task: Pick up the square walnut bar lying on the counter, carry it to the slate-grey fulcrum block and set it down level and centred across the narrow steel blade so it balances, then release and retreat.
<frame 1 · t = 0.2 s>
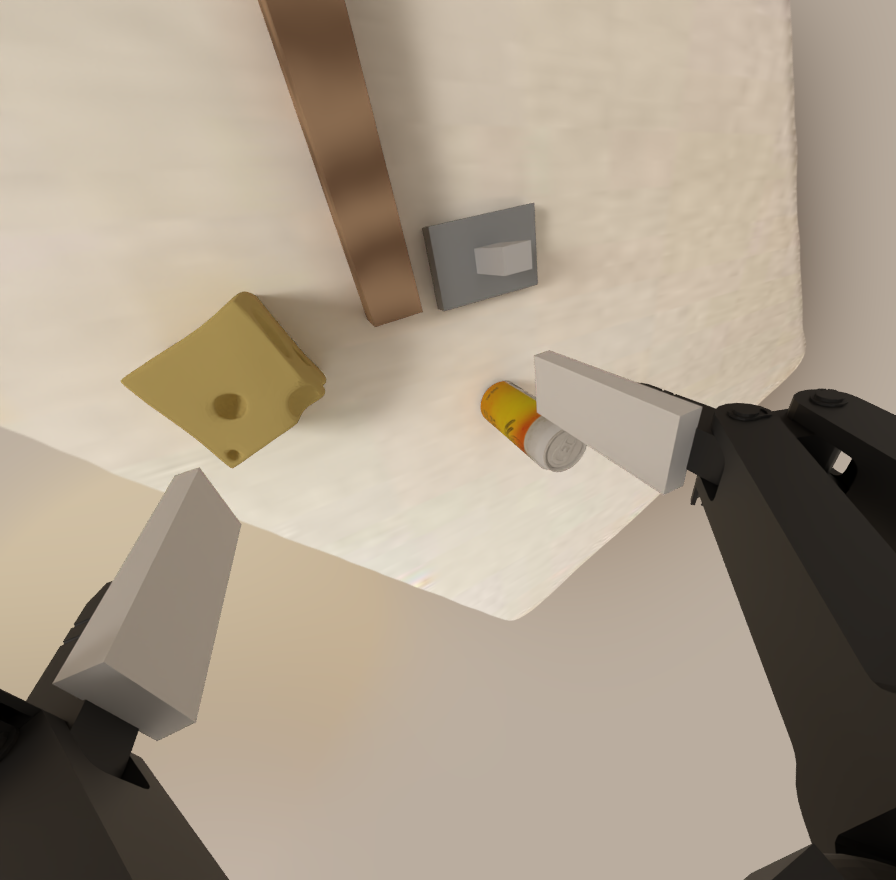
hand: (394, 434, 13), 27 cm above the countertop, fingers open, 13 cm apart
walnut bar: (347, 178, 31), on the countertop
cheese: (248, 362, 34), on the countertop
beer can: (496, 399, 47), on the countertop
fulcrum: (480, 258, 38), on the countertop
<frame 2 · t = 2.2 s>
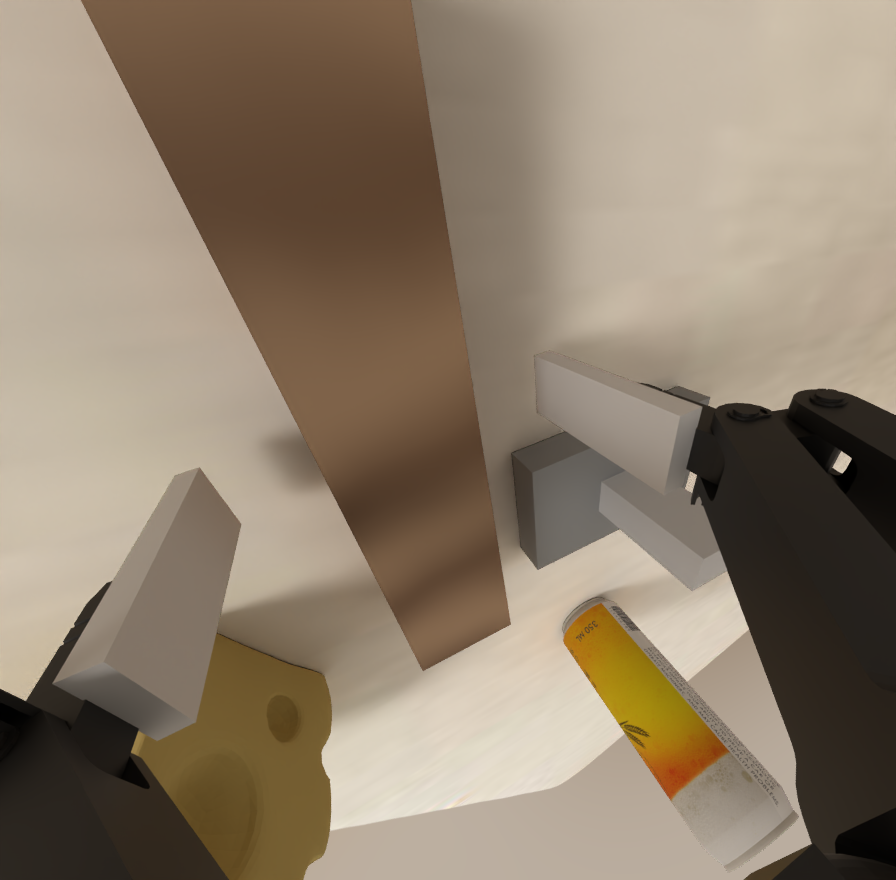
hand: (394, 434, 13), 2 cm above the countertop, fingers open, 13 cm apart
walnut bar: (379, 406, 15), on the countertop
cheese: (188, 699, 18), on the countertop
beer can: (583, 614, 32), on the countertop
fulcrum: (596, 469, 22), on the countertop
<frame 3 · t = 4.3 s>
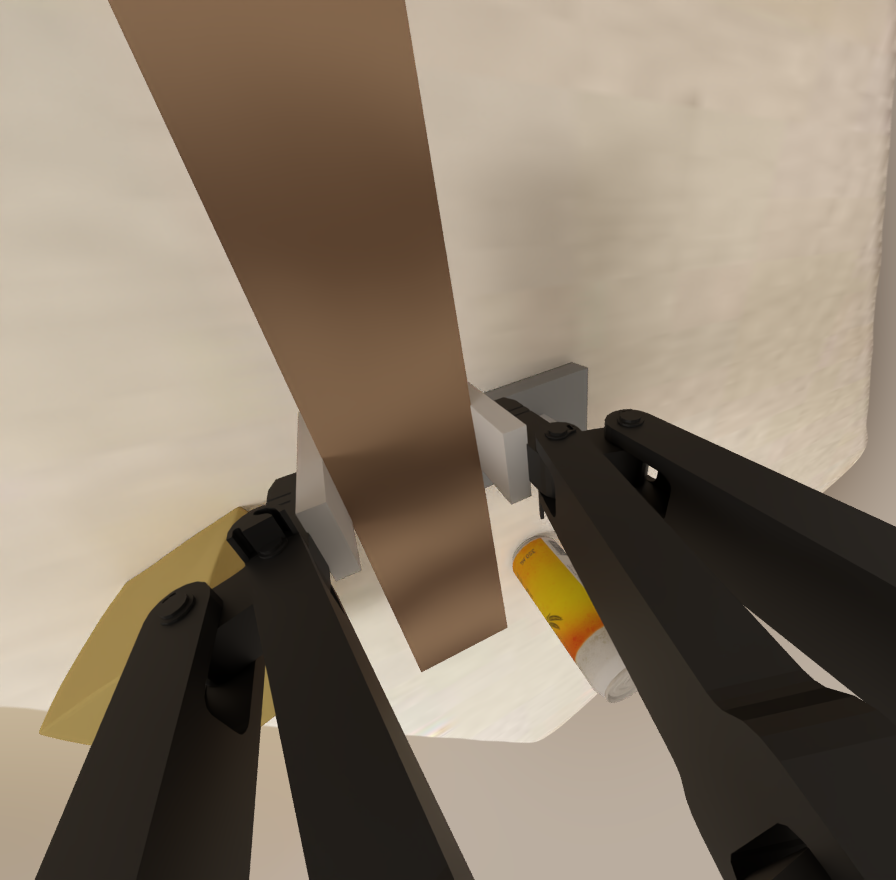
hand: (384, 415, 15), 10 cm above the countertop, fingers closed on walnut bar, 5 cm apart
walnut bar: (383, 414, 16), point 10 cm above the countertop, touching gripper
cheese: (233, 571, 27), on the countertop
beer can: (530, 551, 40), on the countertop
fulcrum: (518, 422, 31), on the countertop
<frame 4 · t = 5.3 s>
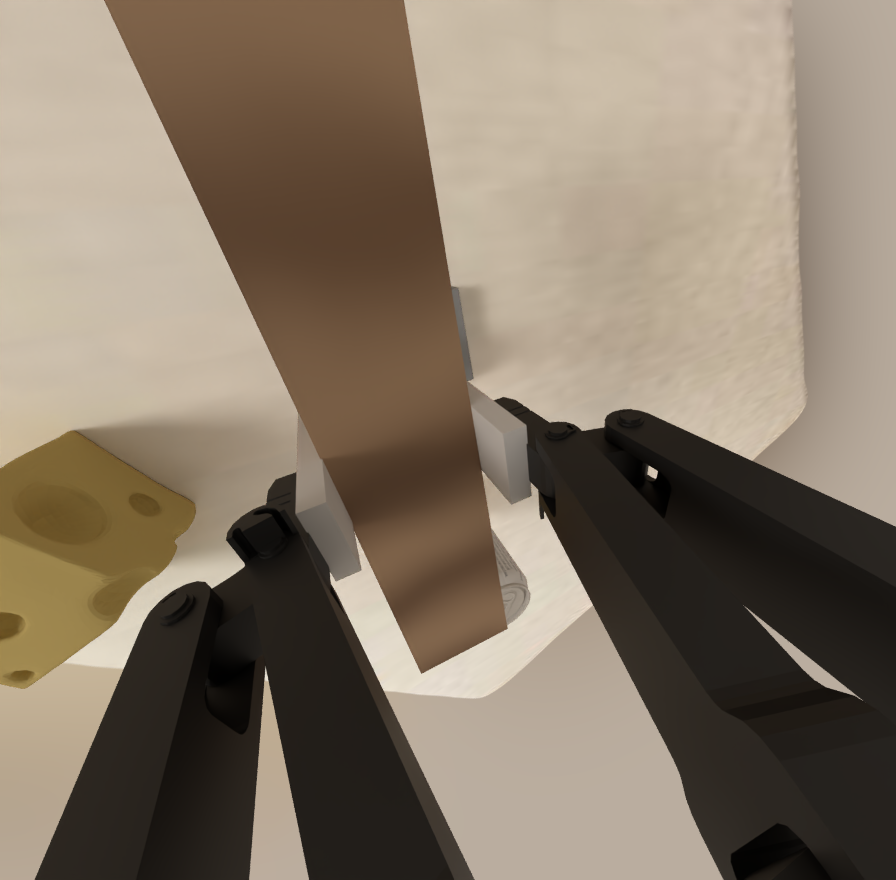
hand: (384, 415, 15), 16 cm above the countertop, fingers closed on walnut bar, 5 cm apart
walnut bar: (382, 415, 15), point 15 cm above the countertop, touching gripper
cheese: (85, 504, 26), on the countertop
beer can: (438, 497, 39), on the countertop
fulcrum: (395, 352, 29), on the countertop
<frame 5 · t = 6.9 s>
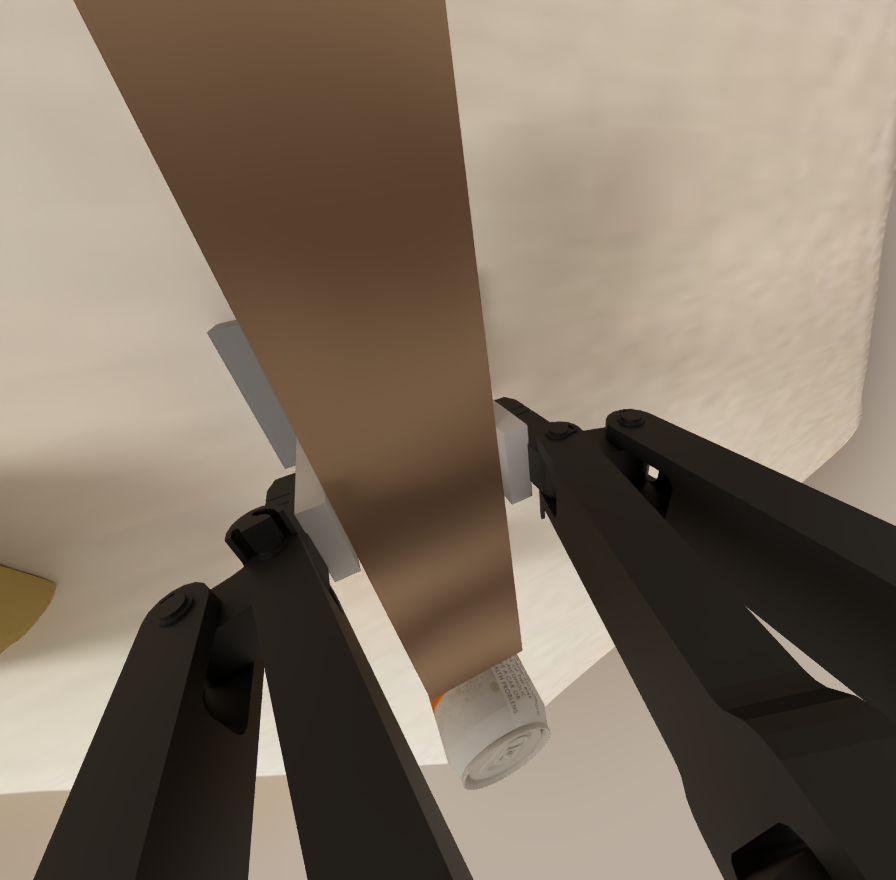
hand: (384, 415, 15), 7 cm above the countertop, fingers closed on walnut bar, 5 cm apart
walnut bar: (389, 425, 14), point 8 cm above the countertop, touching fulcrum, gripper
beer can: (422, 552, 30), on the countertop
fulcrum: (357, 364, 20), on the countertop
when the fingers open (7 cm above the countertop, at t = 8.1 s): walnut bar stays where it is, resting on fulcrum.
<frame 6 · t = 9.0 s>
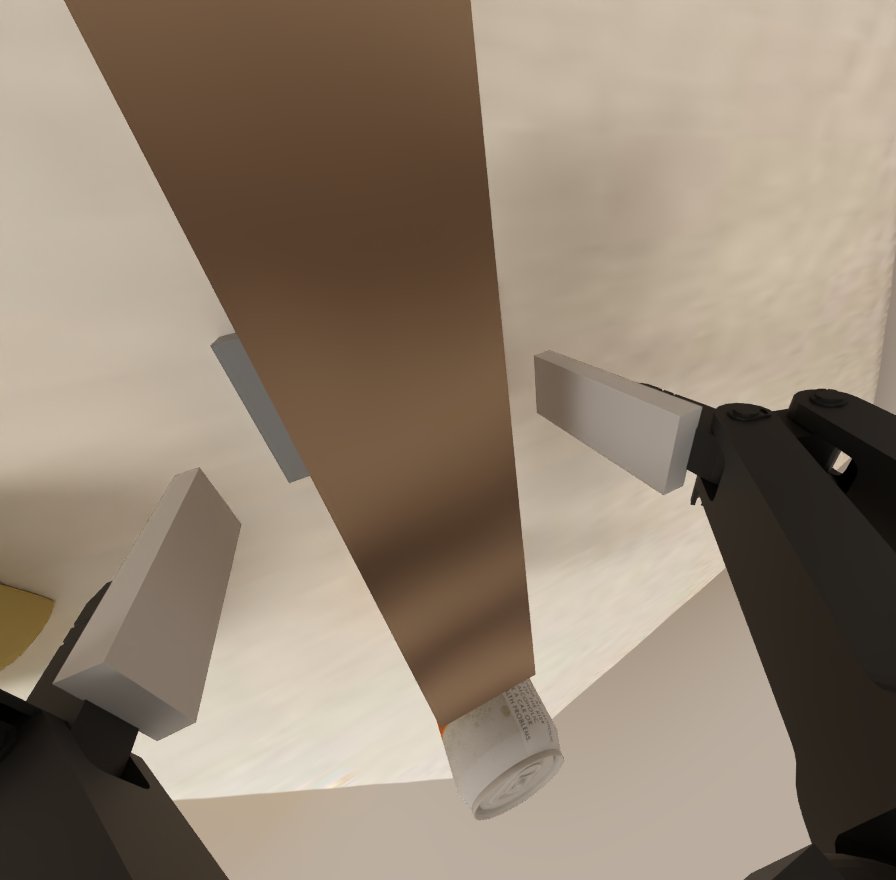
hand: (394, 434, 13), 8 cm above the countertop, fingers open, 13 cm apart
walnut bar: (398, 442, 14), point 8 cm above the countertop, touching fulcrum
beer can: (428, 564, 30), on the countertop
fulcrum: (363, 375, 20), on the countertop
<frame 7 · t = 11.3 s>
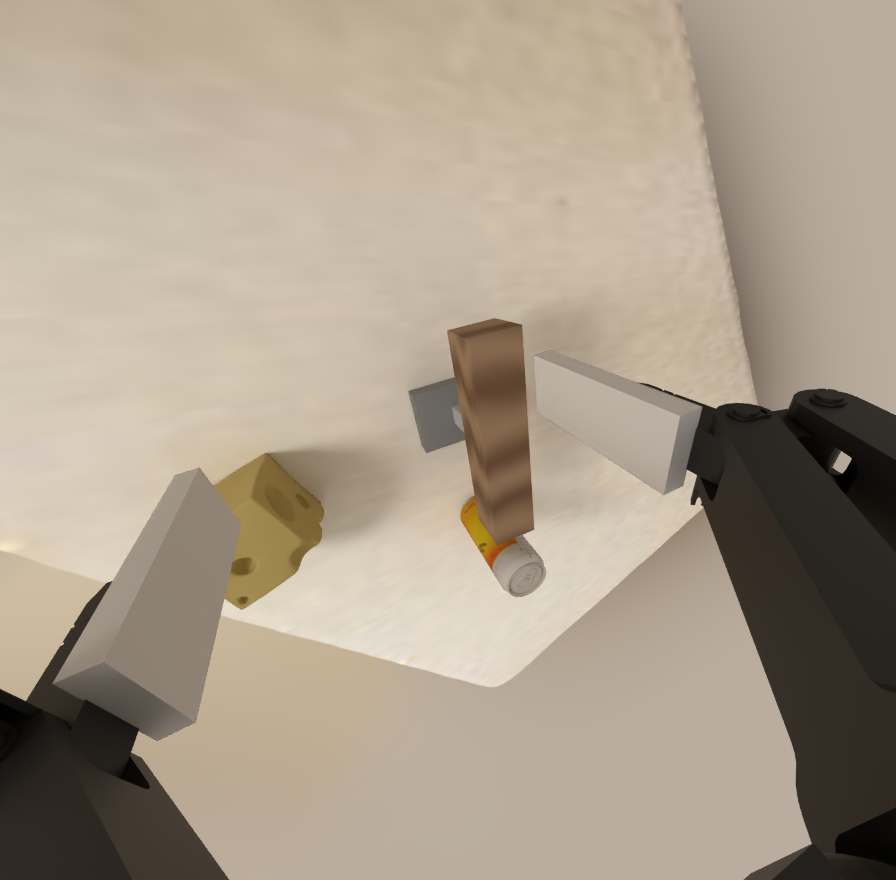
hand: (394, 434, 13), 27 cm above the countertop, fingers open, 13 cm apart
walnut bar: (485, 432, 38), point 8 cm above the countertop, touching fulcrum
cheese: (258, 500, 41), on the countertop
beer can: (475, 507, 53), on the countertop
fulcrum: (458, 406, 44), on the countertop
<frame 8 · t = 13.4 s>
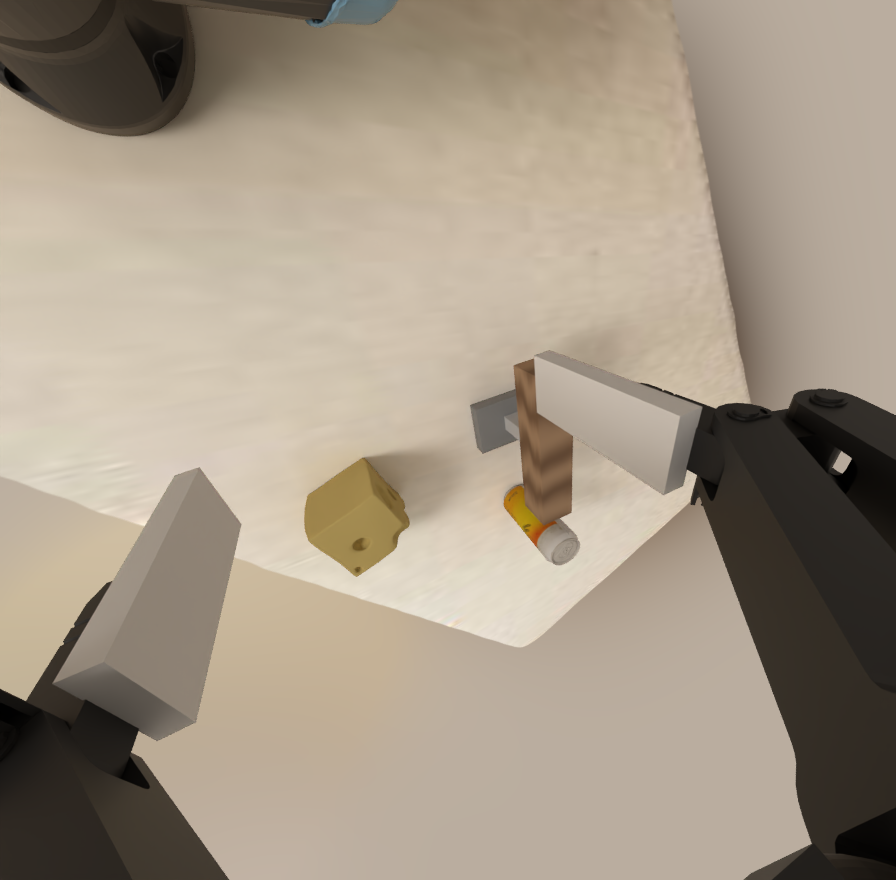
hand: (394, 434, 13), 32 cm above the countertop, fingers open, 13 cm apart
walnut bar: (535, 438, 48), point 8 cm above the countertop, touching fulcrum
cheese: (354, 494, 51), on the countertop
beer can: (514, 495, 65), on the countertop
fulcrum: (506, 415, 55), on the countertop
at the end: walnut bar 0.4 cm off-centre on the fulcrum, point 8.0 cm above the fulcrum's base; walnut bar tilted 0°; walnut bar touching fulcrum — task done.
